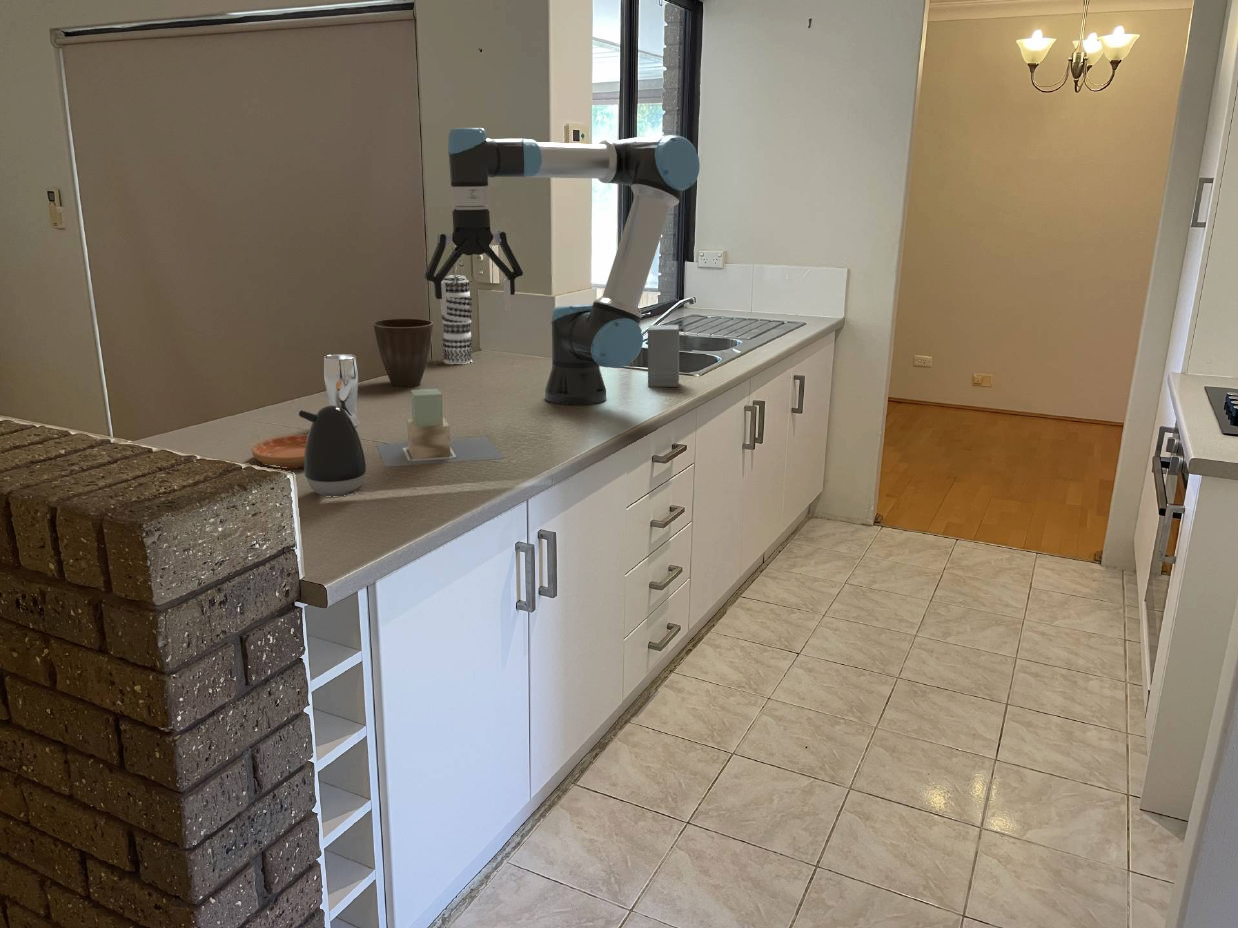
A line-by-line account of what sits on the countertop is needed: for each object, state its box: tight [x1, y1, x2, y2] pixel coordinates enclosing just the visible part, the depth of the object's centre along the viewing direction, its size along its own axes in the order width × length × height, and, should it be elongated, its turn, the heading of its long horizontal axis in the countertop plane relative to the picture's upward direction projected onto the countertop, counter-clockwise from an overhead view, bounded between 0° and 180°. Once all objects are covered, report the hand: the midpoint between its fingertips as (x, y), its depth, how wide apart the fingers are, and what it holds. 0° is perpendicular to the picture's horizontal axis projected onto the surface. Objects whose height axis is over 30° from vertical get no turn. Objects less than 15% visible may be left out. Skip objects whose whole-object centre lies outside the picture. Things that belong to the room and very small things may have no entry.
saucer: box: [251, 434, 308, 469], centre depth 181 cm, size 16×16×3 cm
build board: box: [376, 436, 504, 468], centre depth 184 cm, size 22×16×1 cm
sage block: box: [410, 388, 444, 427], centre depth 179 cm, size 5×5×6 cm
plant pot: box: [373, 318, 434, 387], centre depth 246 cm, size 15×15×16 cm
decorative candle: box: [441, 274, 474, 365], centre depth 275 cm, size 9×9×25 cm
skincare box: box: [647, 324, 680, 388], centre depth 250 cm, size 8×7×16 cm
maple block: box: [406, 417, 451, 459], centre depth 181 cm, size 7×7×6 cm
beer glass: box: [323, 353, 360, 428], centre depth 204 cm, size 7×7×15 cm
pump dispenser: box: [298, 405, 367, 498], centre depth 160 cm, size 10×10×15 cm
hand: (476, 312), depth 200 cm, fingers open, 13 cm apart
